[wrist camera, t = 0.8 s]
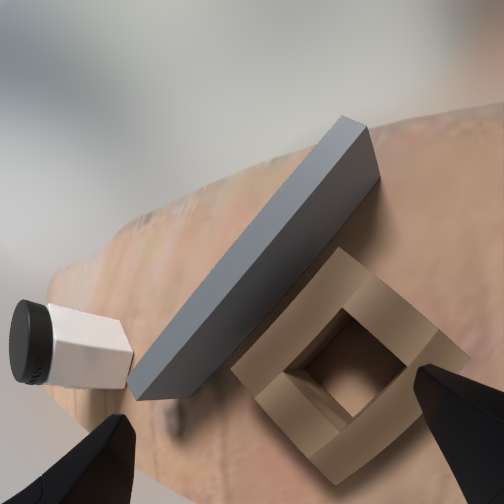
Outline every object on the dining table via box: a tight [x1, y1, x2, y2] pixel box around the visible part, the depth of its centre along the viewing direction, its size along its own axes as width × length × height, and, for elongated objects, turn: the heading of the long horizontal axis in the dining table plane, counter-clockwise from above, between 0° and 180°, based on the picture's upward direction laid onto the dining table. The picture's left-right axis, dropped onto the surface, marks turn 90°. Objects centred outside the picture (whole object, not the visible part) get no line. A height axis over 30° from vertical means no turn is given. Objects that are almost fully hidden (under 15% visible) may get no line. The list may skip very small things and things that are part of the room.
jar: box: [9, 300, 133, 390], centre depth 24 cm, size 9×8×12 cm
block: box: [231, 247, 470, 486], centre depth 16 cm, size 10×10×4 cm
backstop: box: [125, 116, 381, 401], centre depth 20 cm, size 2×24×6 cm, turn 134°
